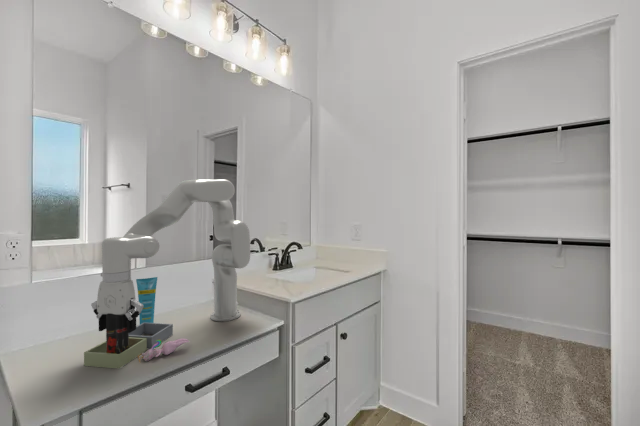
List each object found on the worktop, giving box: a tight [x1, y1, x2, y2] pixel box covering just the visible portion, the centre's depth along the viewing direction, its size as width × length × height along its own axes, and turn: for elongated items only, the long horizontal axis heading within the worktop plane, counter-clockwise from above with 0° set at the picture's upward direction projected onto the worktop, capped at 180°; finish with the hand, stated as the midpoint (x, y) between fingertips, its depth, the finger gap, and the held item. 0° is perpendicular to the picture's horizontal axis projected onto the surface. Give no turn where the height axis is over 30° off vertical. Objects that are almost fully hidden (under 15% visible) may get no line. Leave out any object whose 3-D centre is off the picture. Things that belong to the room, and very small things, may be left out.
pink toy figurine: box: [137, 338, 190, 363], centre depth 99 cm, size 6×6×15 cm
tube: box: [135, 276, 158, 325], centre depth 123 cm, size 7×5×19 cm, turn 123°
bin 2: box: [129, 322, 174, 350], centre depth 109 cm, size 12×12×4 cm
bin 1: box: [83, 337, 148, 369], centre depth 97 cm, size 12×12×4 cm
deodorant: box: [105, 313, 129, 354], centre depth 97 cm, size 6×6×15 cm
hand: (117, 330), depth 97 cm, fingers open, 9 cm apart
